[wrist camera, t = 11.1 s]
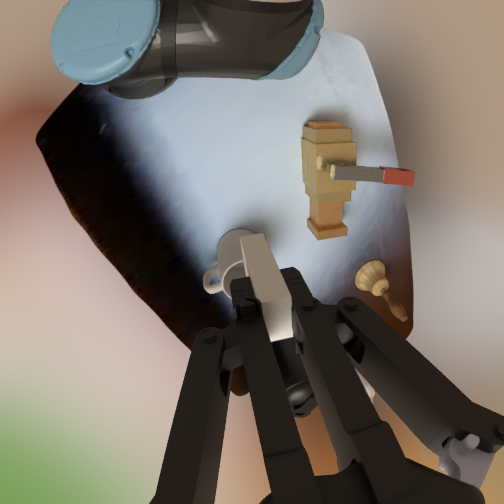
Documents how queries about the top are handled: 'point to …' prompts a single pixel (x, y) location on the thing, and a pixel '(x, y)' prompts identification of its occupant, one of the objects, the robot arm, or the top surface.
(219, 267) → the mug
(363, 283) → the hand bell
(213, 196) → the top surface
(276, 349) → the water bottle
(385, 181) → the lever
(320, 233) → the valve
